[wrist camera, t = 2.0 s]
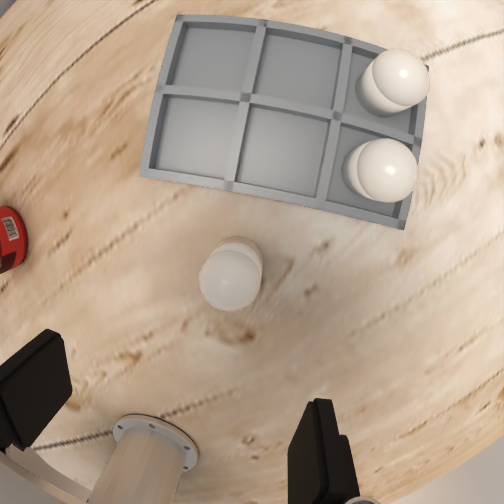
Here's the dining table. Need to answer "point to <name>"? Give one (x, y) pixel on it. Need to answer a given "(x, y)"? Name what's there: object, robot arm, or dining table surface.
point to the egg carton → (269, 114)
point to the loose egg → (232, 274)
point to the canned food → (11, 239)
